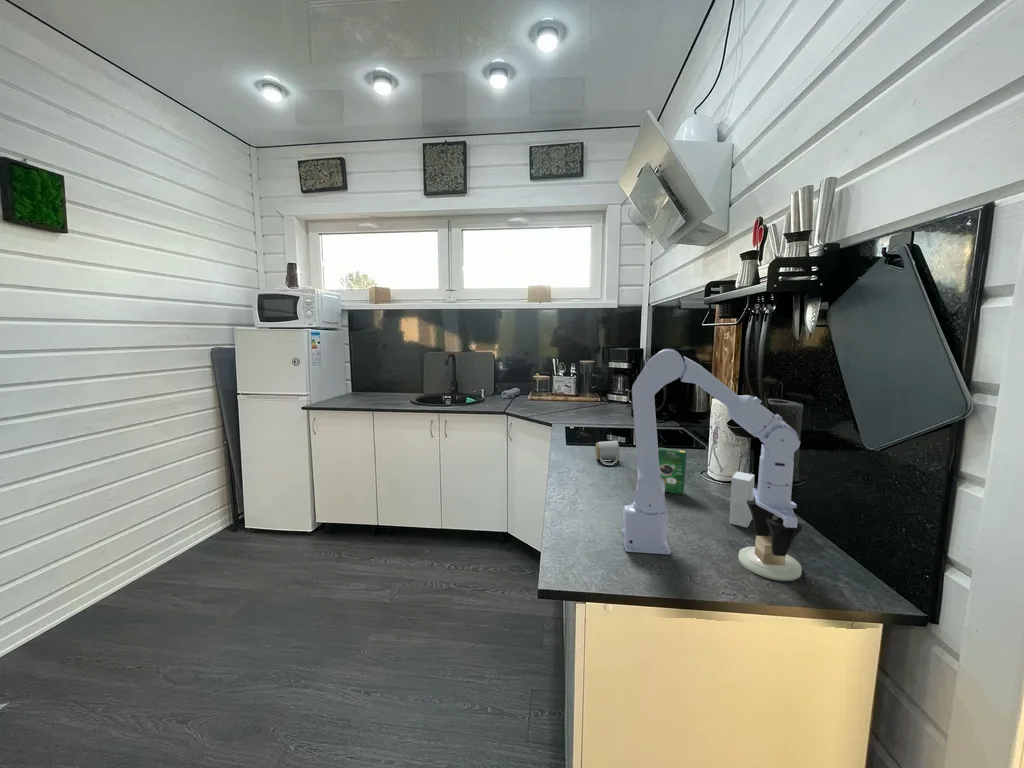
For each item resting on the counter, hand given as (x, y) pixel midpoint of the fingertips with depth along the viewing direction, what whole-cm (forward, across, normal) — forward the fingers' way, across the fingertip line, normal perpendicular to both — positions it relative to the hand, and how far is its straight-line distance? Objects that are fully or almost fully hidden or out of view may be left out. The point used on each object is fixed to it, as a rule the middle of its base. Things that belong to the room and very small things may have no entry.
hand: (770, 545), depth 84 cm
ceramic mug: (+5, +65, +27) cm, 71 cm away
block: (+3, 0, 0) cm, 3 cm away
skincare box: (+5, +20, -2) cm, 21 cm away
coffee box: (+5, +38, +11) cm, 40 cm away
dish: (+4, 0, 0) cm, 4 cm away
